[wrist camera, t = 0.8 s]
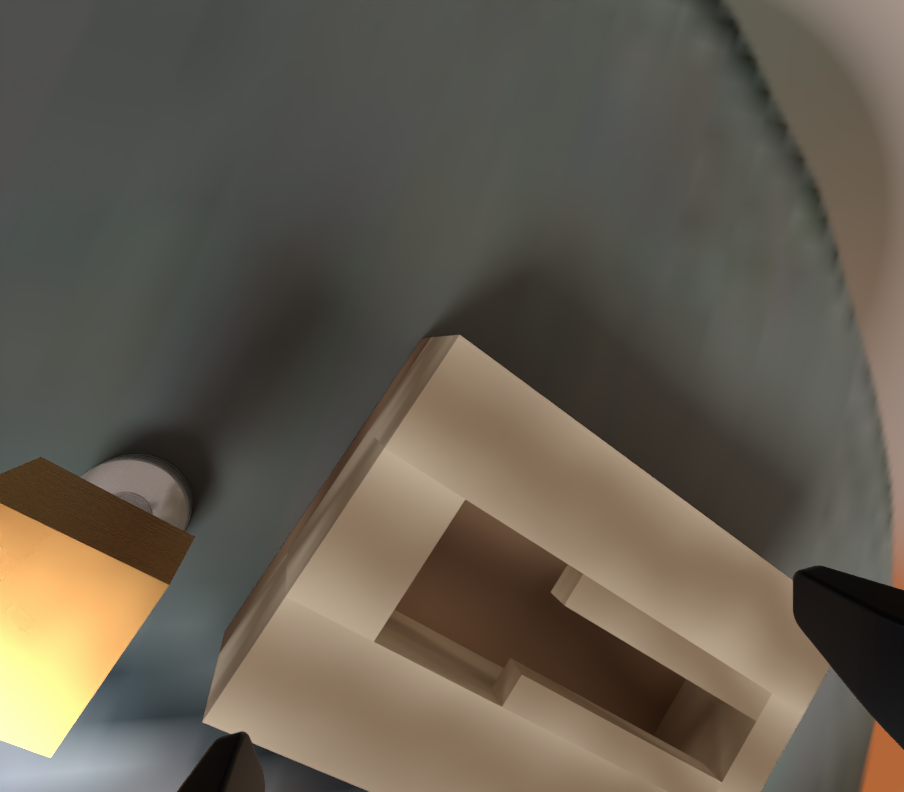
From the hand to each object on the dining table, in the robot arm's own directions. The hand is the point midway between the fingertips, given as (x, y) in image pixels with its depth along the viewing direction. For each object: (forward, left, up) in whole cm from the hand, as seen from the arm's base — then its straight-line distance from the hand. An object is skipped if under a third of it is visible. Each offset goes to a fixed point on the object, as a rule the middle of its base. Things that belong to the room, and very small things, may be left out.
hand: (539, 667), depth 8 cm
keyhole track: (-1, -8, -13) cm, 15 cm away
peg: (-5, +7, -13) cm, 16 cm away
